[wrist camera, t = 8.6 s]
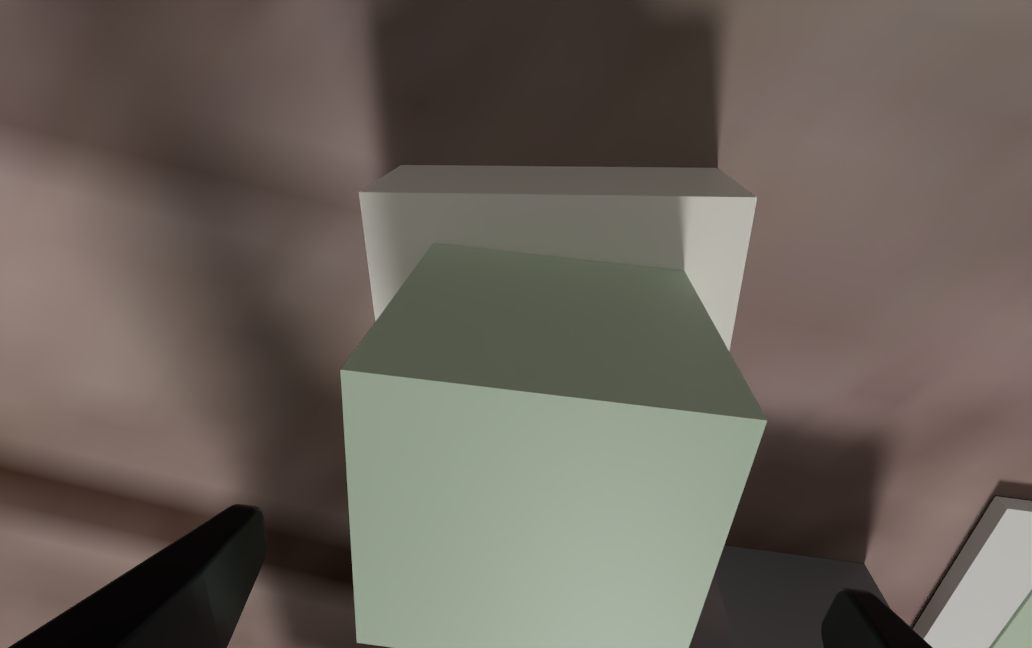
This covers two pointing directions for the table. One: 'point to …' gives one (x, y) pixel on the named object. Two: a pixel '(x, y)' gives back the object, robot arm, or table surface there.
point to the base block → (565, 221)
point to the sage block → (541, 455)
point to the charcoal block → (773, 599)
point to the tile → (987, 585)
